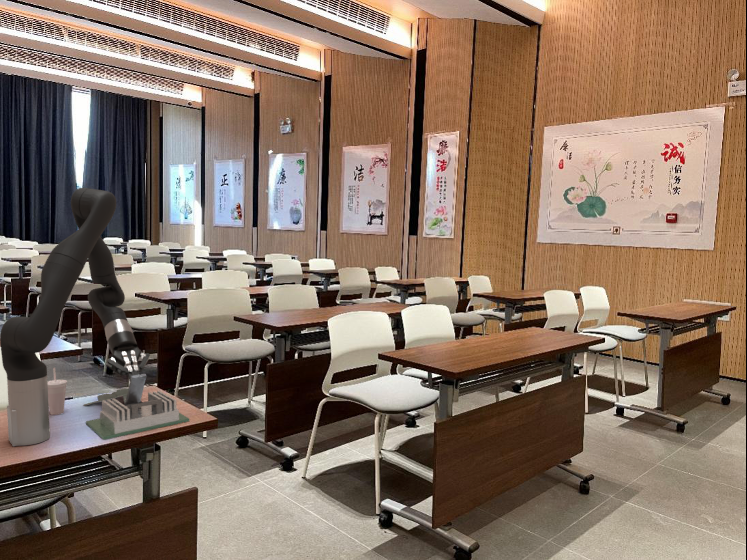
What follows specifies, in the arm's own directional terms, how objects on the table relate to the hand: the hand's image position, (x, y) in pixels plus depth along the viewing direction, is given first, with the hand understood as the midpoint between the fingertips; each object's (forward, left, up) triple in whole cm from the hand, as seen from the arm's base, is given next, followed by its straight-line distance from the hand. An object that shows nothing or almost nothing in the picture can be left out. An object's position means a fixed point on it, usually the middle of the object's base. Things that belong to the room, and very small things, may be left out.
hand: (136, 383), depth 172 cm
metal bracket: (+1, +25, -12) cm, 28 cm away
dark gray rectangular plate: (0, +3, -6) cm, 7 cm away
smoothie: (-16, +24, -12) cm, 32 cm away
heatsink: (0, -1, -11) cm, 11 cm away
